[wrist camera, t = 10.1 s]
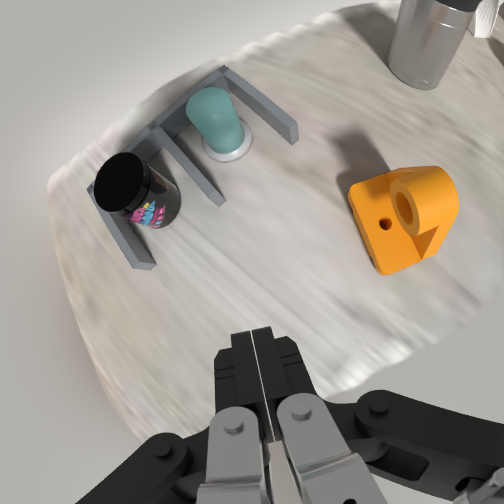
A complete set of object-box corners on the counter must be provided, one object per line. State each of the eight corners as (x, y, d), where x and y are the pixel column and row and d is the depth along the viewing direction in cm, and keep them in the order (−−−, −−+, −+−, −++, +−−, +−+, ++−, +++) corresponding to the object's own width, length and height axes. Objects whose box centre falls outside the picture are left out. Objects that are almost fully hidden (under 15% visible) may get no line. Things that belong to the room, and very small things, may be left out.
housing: (298, 139, 36) (295, 100, 27) (150, 270, 37) (109, 265, 29) (231, 83, 39) (215, 43, 30) (104, 197, 40) (65, 179, 31)
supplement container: (131, 214, 39) (84, 194, 29) (157, 173, 39) (116, 143, 29) (164, 239, 37) (119, 224, 27) (193, 195, 37) (155, 166, 27)
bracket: (343, 194, 34) (360, 151, 22) (393, 175, 33) (426, 131, 21) (377, 277, 32) (412, 274, 21) (427, 255, 31) (477, 242, 20)
